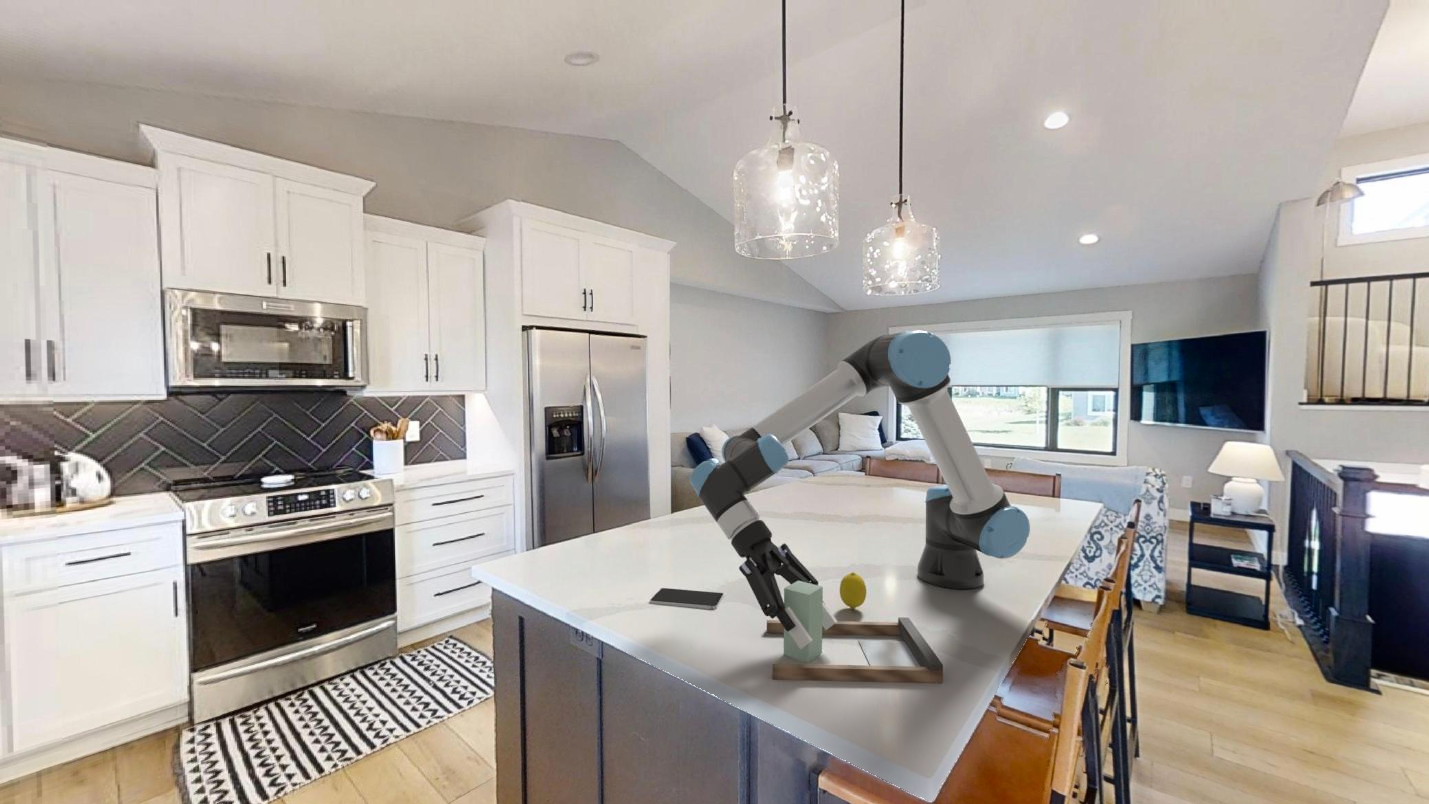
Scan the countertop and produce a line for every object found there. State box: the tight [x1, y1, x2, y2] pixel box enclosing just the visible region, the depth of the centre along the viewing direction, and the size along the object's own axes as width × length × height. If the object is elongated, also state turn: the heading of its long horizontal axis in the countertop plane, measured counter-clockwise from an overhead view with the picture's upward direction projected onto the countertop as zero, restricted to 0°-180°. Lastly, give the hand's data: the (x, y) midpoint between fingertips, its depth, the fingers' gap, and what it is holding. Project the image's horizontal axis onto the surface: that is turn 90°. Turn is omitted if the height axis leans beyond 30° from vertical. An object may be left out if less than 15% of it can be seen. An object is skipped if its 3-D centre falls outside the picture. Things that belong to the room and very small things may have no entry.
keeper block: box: [783, 581, 824, 664], centre depth 101 cm, size 5×5×12 cm
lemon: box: [839, 571, 867, 610], centre depth 121 cm, size 6×6×8 cm
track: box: [766, 616, 944, 684], centre depth 101 cm, size 28×18×3 cm, turn 88°
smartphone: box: [649, 587, 724, 610], centre depth 126 cm, size 8×1×15 cm
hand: (819, 635), depth 99 cm, fingers open, 9 cm apart
